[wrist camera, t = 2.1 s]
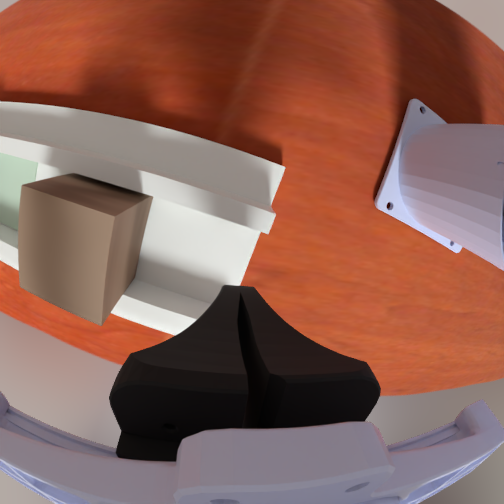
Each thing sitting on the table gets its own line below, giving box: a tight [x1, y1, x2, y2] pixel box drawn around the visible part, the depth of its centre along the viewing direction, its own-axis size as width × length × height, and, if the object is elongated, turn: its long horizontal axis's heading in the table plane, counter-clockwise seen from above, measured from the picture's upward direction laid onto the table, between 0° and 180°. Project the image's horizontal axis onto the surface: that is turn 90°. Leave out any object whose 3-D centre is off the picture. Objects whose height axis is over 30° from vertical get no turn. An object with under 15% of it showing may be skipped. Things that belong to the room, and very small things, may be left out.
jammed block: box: [18, 173, 153, 326], centre depth 11 cm, size 5×5×5 cm
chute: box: [0, 101, 286, 335], centre depth 12 cm, size 22×12×4 cm, turn 70°
